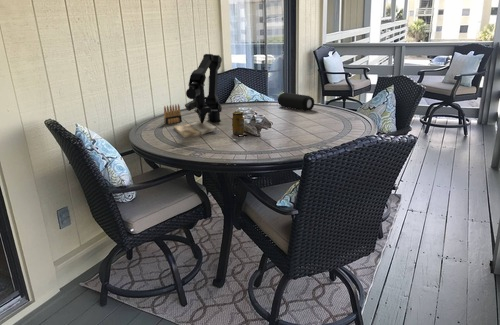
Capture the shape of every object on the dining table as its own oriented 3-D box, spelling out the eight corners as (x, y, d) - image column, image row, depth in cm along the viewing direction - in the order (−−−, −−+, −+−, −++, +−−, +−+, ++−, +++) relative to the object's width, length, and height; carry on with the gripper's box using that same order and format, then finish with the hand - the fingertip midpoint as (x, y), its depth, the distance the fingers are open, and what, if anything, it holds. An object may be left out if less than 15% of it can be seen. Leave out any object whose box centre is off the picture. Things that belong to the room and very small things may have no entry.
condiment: (241, 132, 222) (240, 110, 218) (248, 135, 215) (247, 113, 211) (229, 134, 219) (228, 112, 215) (235, 137, 212) (234, 115, 208)
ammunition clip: (165, 126, 239) (163, 106, 235) (164, 125, 241) (162, 105, 237) (182, 123, 245) (180, 103, 241) (180, 122, 246) (179, 103, 242)
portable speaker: (315, 110, 270) (315, 95, 266) (305, 112, 263) (305, 97, 260) (286, 105, 287) (286, 91, 284) (276, 107, 281) (276, 93, 278)
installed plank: (189, 127, 232) (188, 124, 231) (200, 135, 215) (200, 132, 214) (173, 129, 228) (173, 126, 228) (184, 137, 211) (184, 134, 211)
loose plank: (204, 122, 235) (203, 119, 234) (216, 129, 218) (216, 127, 217) (189, 126, 232) (189, 124, 231) (201, 134, 215) (200, 132, 214)
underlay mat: (206, 125, 237) (206, 124, 237) (220, 134, 219) (220, 132, 218) (168, 131, 228) (168, 129, 228) (179, 140, 209) (179, 138, 209)
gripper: (180, 95, 229) (183, 121, 234) (190, 100, 213) (193, 128, 218) (199, 92, 233) (201, 118, 238) (210, 97, 217) (213, 125, 222)
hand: (202, 122), depth 229 cm, fingers closed, pressing on loose plank
